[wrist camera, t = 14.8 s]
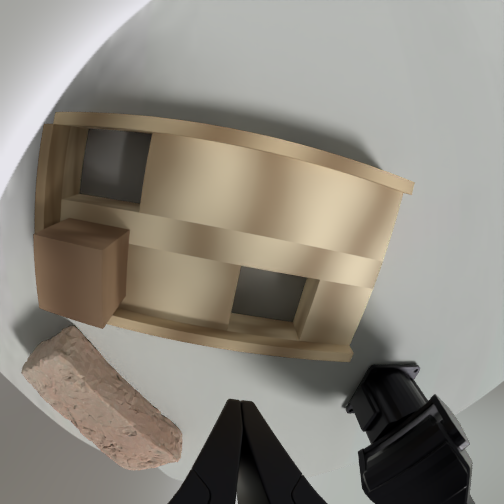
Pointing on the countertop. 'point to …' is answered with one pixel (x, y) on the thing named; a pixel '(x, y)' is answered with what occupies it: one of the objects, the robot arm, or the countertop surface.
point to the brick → (101, 402)
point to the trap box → (231, 230)
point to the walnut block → (81, 270)
